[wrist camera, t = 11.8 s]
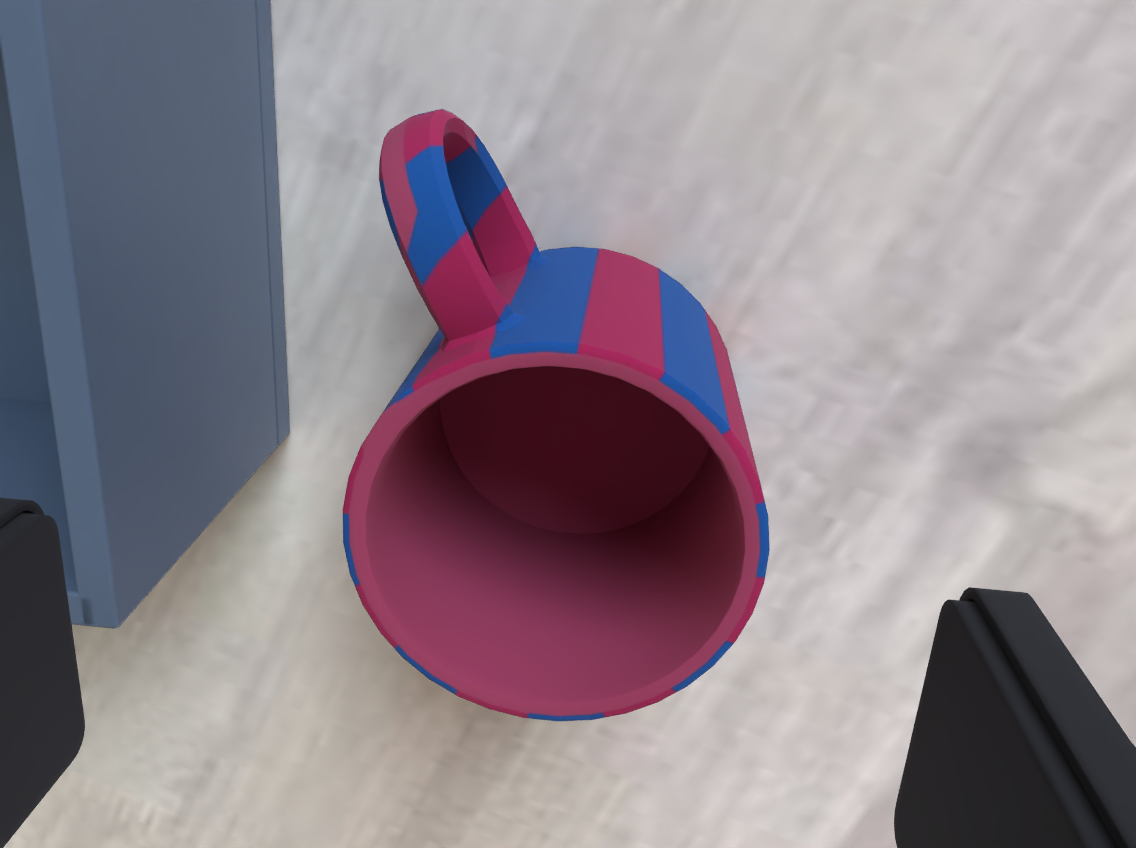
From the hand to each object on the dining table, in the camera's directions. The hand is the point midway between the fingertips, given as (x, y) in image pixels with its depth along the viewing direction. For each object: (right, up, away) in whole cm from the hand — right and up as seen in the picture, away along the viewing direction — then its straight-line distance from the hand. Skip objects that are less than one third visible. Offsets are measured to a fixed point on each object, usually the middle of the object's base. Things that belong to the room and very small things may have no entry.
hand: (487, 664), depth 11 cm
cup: (+1, +5, +11) cm, 12 cm away
